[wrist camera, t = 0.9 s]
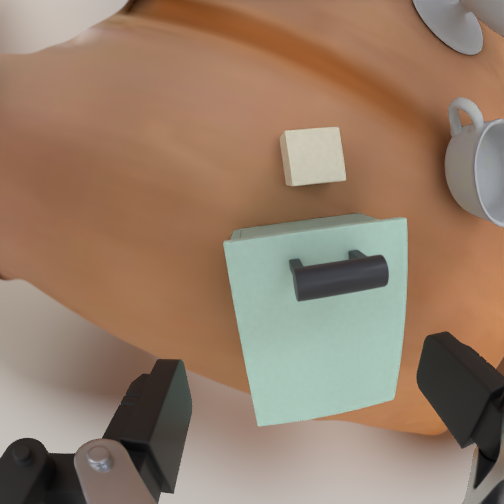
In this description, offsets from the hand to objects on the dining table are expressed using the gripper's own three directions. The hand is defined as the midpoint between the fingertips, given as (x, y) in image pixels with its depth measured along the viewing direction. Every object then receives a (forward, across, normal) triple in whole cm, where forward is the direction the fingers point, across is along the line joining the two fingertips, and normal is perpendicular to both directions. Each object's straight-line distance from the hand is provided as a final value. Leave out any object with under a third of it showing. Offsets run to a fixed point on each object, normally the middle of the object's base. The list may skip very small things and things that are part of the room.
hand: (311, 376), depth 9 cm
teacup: (+20, -23, -9) cm, 32 cm away
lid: (+12, -3, +5) cm, 13 cm away
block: (+20, -4, -8) cm, 22 cm away
